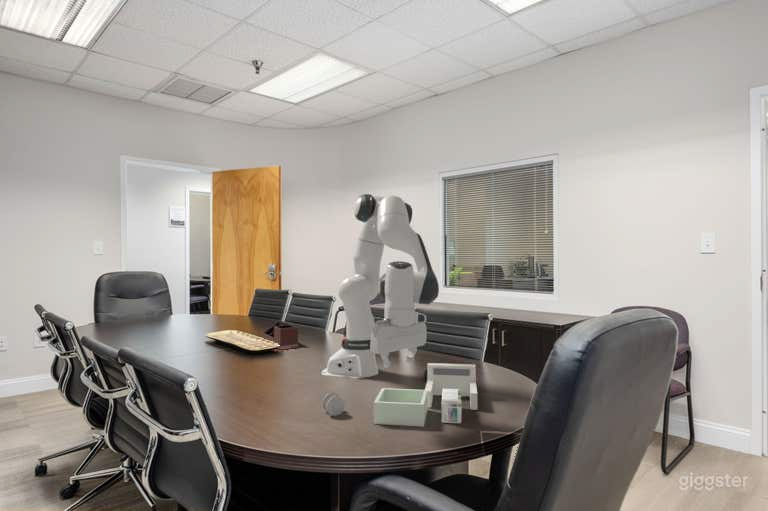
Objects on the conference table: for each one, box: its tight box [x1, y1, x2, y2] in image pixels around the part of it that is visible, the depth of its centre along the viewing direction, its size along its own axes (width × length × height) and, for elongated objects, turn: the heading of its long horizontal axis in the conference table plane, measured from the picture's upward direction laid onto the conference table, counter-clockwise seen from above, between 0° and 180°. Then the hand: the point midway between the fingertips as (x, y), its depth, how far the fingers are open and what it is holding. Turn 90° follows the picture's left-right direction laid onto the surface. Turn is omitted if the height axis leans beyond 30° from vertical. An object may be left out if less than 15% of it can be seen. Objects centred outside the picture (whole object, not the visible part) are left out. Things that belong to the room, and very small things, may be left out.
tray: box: [373, 387, 428, 427], centre depth 135 cm, size 14×14×6 cm
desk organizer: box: [262, 319, 299, 352], centre depth 244 cm, size 10×29×11 cm, turn 32°
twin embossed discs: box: [322, 391, 346, 416], centre depth 138 cm, size 6×4×6 cm
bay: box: [424, 362, 478, 411], centre depth 150 cm, size 16×16×10 cm
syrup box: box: [440, 389, 463, 424], centre depth 136 cm, size 6×6×14 cm
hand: (399, 364), depth 135 cm, fingers open, 8 cm apart
